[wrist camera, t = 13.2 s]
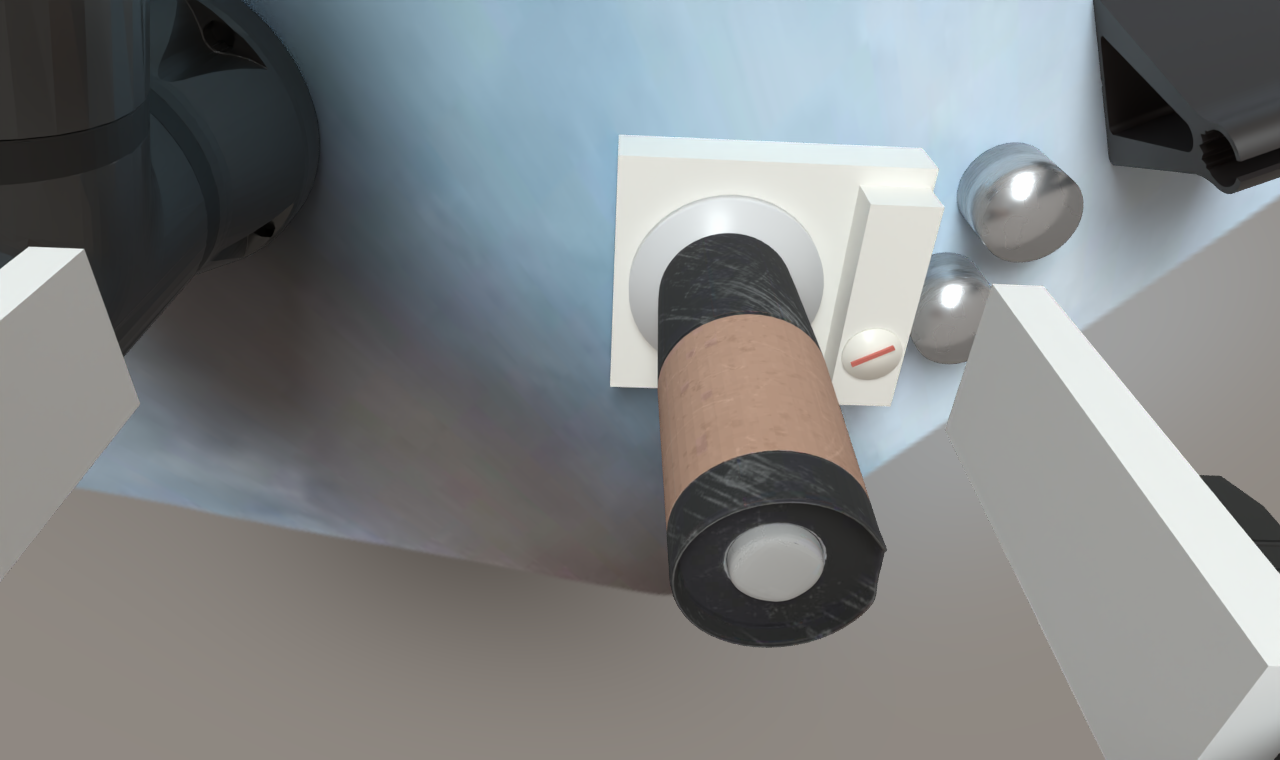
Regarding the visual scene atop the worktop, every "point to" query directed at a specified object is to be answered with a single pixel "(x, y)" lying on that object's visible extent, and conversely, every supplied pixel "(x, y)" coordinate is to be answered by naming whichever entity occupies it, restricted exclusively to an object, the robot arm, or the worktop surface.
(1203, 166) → the phone stand
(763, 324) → the travel mug
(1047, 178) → the cylinder
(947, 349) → the cylinder
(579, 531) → the worktop surface
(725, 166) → the scale
